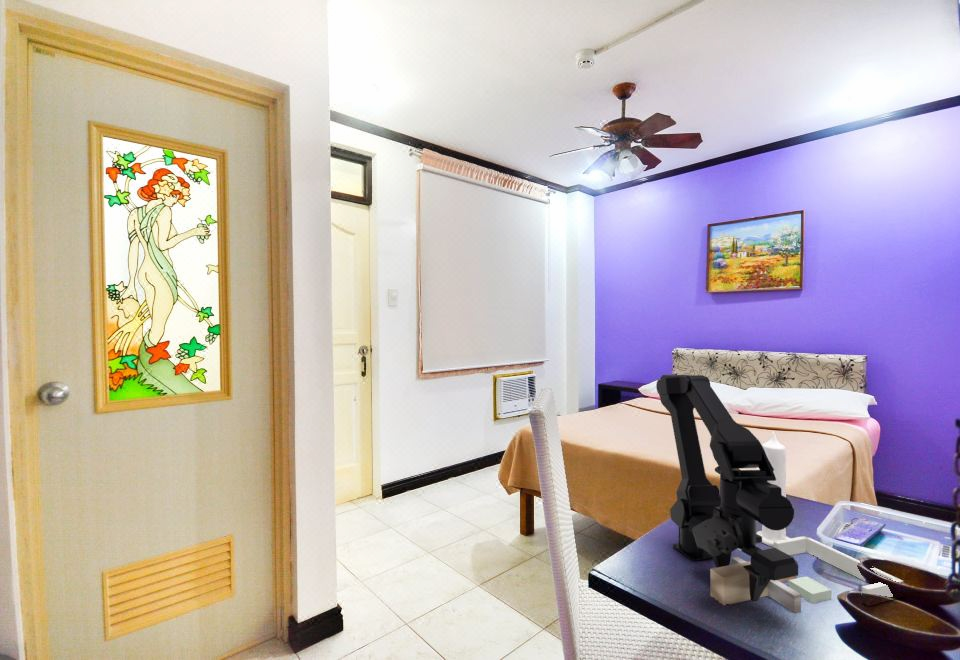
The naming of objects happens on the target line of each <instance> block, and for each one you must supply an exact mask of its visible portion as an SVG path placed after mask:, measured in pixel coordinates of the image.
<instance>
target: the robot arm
mask: <svg viewBox="0 0 960 660" xmlns="http://www.w3.org/2000/svg"><path fill="white" fill-rule="evenodd" d="M710 381H711V380H710V378H709V377H707V376H706V375H704V374H703V375H702V374H693V375H692V374H663V375H661V377H660V379H658V380H657V381H656V386H655V387H656V393H658V395H659V399H660V403H661V405H662V406H663V407H664V408H665V409H666V410H667V412H668V413H669V414H670V417H671V418H670V419H671V425H672V428H673V429H672V430H673V436H674V441H675V446H676V452H677V457H678V463H679V468H680V474H681V481H680V482H679V485H678V487H677V490H676V501H675V503H673V505H672V506H671V507H670V509H669V514H670V519H671V521H673V523H674V524H675V525H676V526H678V543H674V544H672V548H674V549H675V550H677V551H679V552H680V553H681V554H682V555H684V556H685V557H686V558H689V559H690V560H691V561H693V562H696V561H701V560H707V559H713V562H714V566H715V568H718V567H723V566H728V565H731V564H730V563H731V560H732V553H733V552H734V551H736V550H738V551H740V552H742V553H744V554H745V555H747V556H749V557H750V561H751V564H750V565H745V566H743V567H744V568H745V569H746V570H747V572H748V573H749V586H750V598H751V600H750V601H751V602H752V603H755V602H757V601H758V600H759V599H760V598H761V597H760V596H761V594H762V592H763V591H764V589H765V588H766V586H767V584H768V583H769V581H770V580H774V581H775V580H779V579H784V578H789V577H793V576H796V577H797V576H799V563H798V560H796V559H795V558H794V556H793V555H788V554H786V553H784V552H782V551H780V550H778V549H776V548H774V547H771V548H766V549H761V547H758V546H757V544H761V543H762V536H760V535H758V534H756V533H757V522H758V523H760V524H761V526H762V525H764V526H765V527H767V528H769V529H771V530H782V529H784V528H786V529H787V528H788V527H789V526H790V524H791V523H792V522H793V519H794V518H795V517H794V516H795V508H794V507H793V504H792V502H791V501H790V500H789V499H788V498H787V496H786V497H784V496H782V495H781V487H779V486H777V485H774V484H771V483H769V482H767V481H776V477H775V475H774V472H773V471H774V469H773V467H772V465H771V463H770V461H769V460H768V457H767V456H766V453H765V451H764V448H763V446H762V445H763V444H762V443H761V441H760V440H759V439H758V438H757V437H756V436H755V435H754V434H753V432H751V430H750V429H748V428H747V427H745V426H743V425H741V424H739V423H737V422H736V420H734V418H733V417H732V415H731V414H730V412H729V411H728V410H727V408H726V406H725V405H724V404H723V403H722V400H721V399H720V398H719V396H718V395H717V394H716V392H715V390H714V389H713V388H712V386H711V382H710ZM694 409H695V411H696V412H697V413H698V416H699V417H700V419H701V420H702V423H703V424H704V425H705V427H706V429H707V431H708V432H709V435H710V442H709V449H711V452H712V456H713V459H714V461H715V462H716V464H717V465H718V466H716V467H715V468H714V472H715V473H717V474H719V481H720V482H719V487H718V485H716V484H712V482H711V481H710V480H709V479H708V478H707V474H706V469H705V465H704V460H703V454H702V449H701V443H700V440H699V434H698V428H697V424H696V418H695V413H694ZM757 468H758V469H757ZM759 597H760V598H759Z"/></svg>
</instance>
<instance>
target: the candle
mask: <svg viewBox="0 0 960 660" xmlns="http://www.w3.org/2000/svg"><path fill="white" fill-rule="evenodd" d="M771 432H772V433H771V435H770V439H769V440H767V441H766V442H764V443H763V444H761V445H762V446H763V448H764V451H765V453H766V456H767V457H768V460H769V461H770V463H771V465H772V467H773V469H774V471H773V472H774V475H775V477H776V481H767V482H769V483H771V484H774V485H777V486H779V487H781V495H782V496H784V497H786V498H787V496H786V495H787V481H786V480H787V448H786V446H785V445H783V444H782V443H780V442H779V440H778V438H777V434H776V432H775V431H771ZM761 527H762V528H761V530H757V531H756V534H758V535H760V536H762V542H761V543H762V544H764V545H766V546H769V547H771V548H774V541H779V540H785V539H790V538H791V537H789V536H787V531H786V529H787V527H786V528H784V529H782V530H771V529H769V528H767V527H765V526H764V525H762V524H761Z"/></svg>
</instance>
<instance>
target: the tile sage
mask: <svg viewBox="0 0 960 660" xmlns="http://www.w3.org/2000/svg"><path fill="white" fill-rule="evenodd" d="M787 583H788V587H790V588H791V589H793V590H795V591H796V592H798V593H800V594H801V598H803V599H804V600H806V601H808V602H809V603H811V604H817V603H820V602H824V601H829V600H831V599H832V589H830V588H829V587H827V586H825V585H823V584H822V583H820V582H817V581H816V580H815V579H812V578H811V577H809V576H807V575H806V576H802V577H796V579H791V580H788V581H787Z"/></svg>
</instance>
